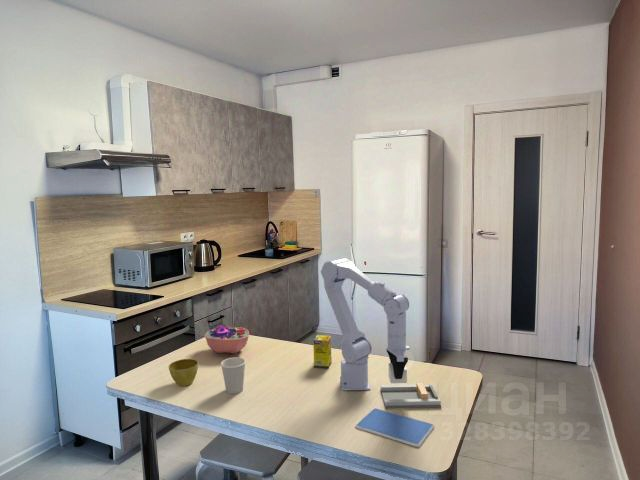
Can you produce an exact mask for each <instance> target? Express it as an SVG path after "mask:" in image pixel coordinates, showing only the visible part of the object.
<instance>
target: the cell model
mask: <svg viewBox="0 0 640 480" xmlns="http://www.w3.org/2000/svg"><path fill="white" fill-rule="evenodd" d="M203 336H204V338H205V340H206V344H207V346H208V347H209V348H210V350H211V351H213V352H215V353H218V354H219V353H221V354H224V353H229V354H236V353H239V352H240V351H242V350H243V349H244V348H245V347H246V345H248V344H247V343H248V340H249V336H250V331H249V329H247V328H245V327H237V326H226V325H225V324H219V325H217V326H216V327H215V328H213V329H210V330H208V331H206V332H205V334H204V335H203Z"/></svg>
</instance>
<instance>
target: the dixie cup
mask: <svg viewBox="0 0 640 480" xmlns="http://www.w3.org/2000/svg"><path fill="white" fill-rule="evenodd" d="M246 363H247V362H246V359H244V358H242V357H229V358H226V359H224V360H221V362H220V366H221V371H222V376H223V381H224V387H225V392H226V393H227V394H229V395H236V394H240V393H242V392H243V390H244V384H245V383H244V382H245V381H244V380H245V369H246V368H245V367H246Z"/></svg>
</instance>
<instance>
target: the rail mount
mask: <svg viewBox="0 0 640 480" xmlns="http://www.w3.org/2000/svg"><path fill="white" fill-rule="evenodd" d="M423 385H424V387H425V389H426V391H427V393H428V399H420V397H419V395H418V392H417V390H416V384H382V385H380V392H381V396H382V400H383V405H384V407H385V409H423V408H427V409H428V408H430V409H431V408H433V409H434V408H442V402H441V401H442V400H441V399H440V398H439V396H438V395H437V392H436V390H435V389H434V386H433V384H432V383H431V384H423Z"/></svg>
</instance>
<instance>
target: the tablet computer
mask: <svg viewBox="0 0 640 480" xmlns="http://www.w3.org/2000/svg"><path fill="white" fill-rule="evenodd" d="M354 428H355V429H357V430H361V431H364V432H367V433H371V434H373V435H377V436H380V437H383V438H386V439H390V440H393V441H396V442H400V443H403V444H406V445H408V446H412V447H414V448H420V447H421V446H422V445H423V443H424V442H425V441H426V440H427V438H428V437H429V435H430V434H431V433H432V431H433V430H434V429H435V425H434V423H430V422H426V421H423V420H418V419H415V418H411V417H408V416H404V415H400V414H398V413H394V412H390V411H388V410H387V411H386V410H383V409H380V408H372V409H371V410H370V411H369V412H368V413H367V414H366V415H365V416H363V417H362V418H361V419H360V421H358V422H357V423H355V427H354Z"/></svg>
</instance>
